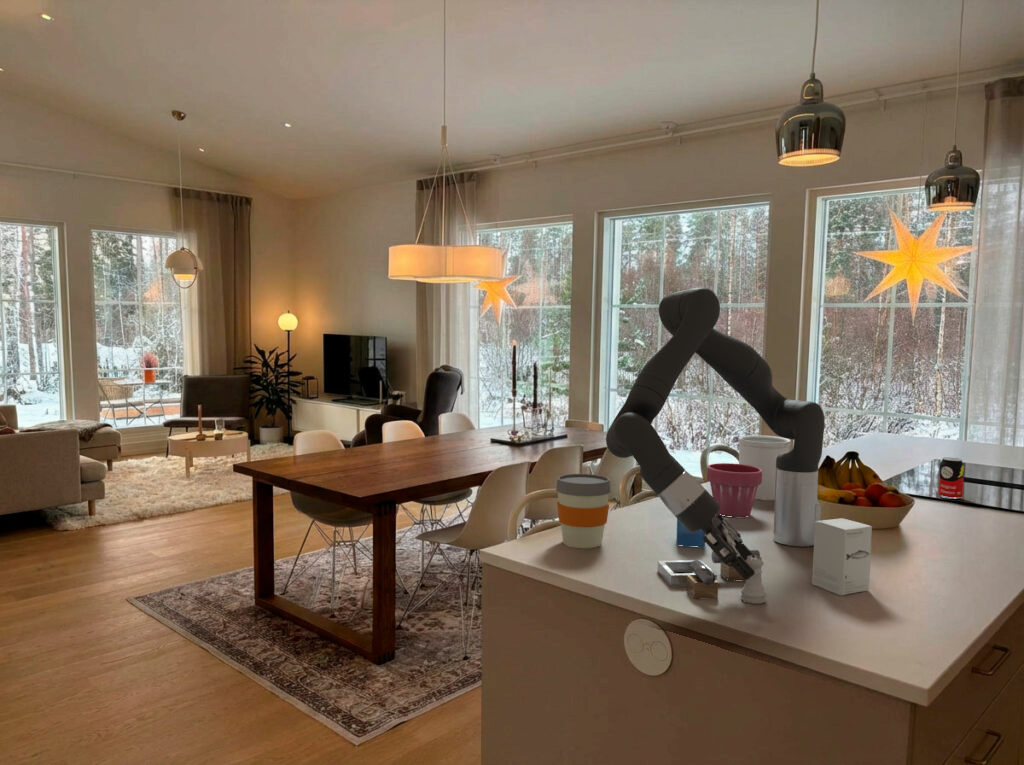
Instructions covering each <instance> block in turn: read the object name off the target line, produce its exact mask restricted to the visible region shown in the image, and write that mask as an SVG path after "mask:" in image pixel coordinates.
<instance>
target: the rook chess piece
mask: <svg viewBox="0 0 1024 765" xmlns="http://www.w3.org/2000/svg"><path fill="white" fill-rule="evenodd" d="M746 562H747V563H748V564H749V565H750V566H751V567H752V568H753V570H754V571H755V573H754V575H753V576H752V577H750V578H749V579H748V580H746V581H745V584H744V585H743V588H742V589H741V591H740V593H741V595H740V598H741V600H742V601H743V602H744V601H745V603H746V602H747V603H746V604H751V605H762V604H764V603H765V602H766V601H767V598H766V596H767V593H766V591H765V590H764V586H763V582H762V581H763V580H762V573H763V570H762V567H763V566H764V564H765V563H764V561H763V558H762V556H761V555H760V556H759V559H758V558H757V556H756V555H755V557H754V558H752V555H749V556H747V560H746Z"/></svg>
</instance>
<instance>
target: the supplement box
mask: <svg viewBox="0 0 1024 765" xmlns="http://www.w3.org/2000/svg"><path fill="white" fill-rule="evenodd" d="M872 530H873V526H872V525H869V524H865V523H862V522H857V521H855V520H850V519H847V518H842V517H841V518H840V517H839V518H833V519H822V520H820V521H815V530H814V545H813V553H812V554H813V556H812V558H813V561H812V580H811V584H812V585H815V586H817V587H819V588H821V589H823V590H826V591H827V592H831V593H834V594H836V595H838V596H841V597H842V596H845V595H849V594H855V593H861V592H868V591H869V590H870V575H871V556H872V555H871V554H872V534H873V533H872Z"/></svg>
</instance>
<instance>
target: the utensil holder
mask: <svg viewBox="0 0 1024 765" xmlns="http://www.w3.org/2000/svg"><path fill="white" fill-rule="evenodd" d="M738 444H739V446H738V447H739V449H738V451H739V452H738V464H744V465H750V466H754V467H758V468H760V469H761V470H762V483H761V484H760V485H758V488H757V492H756V496H755V499H754V500H757V499H761V500H760V501H775V480H776V458H777V456H778V455H780V454H784V453H788V452H790V446H791V439H787V438H783V437H780V436H774V435H764V434H763V435H762V434H761V435H760V434H759V435H758V434H756V435H755V434H754V435H753V434H751V435H749V434H747V435H740V436H739V437H738Z"/></svg>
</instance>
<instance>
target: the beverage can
mask: <svg viewBox="0 0 1024 765" xmlns="http://www.w3.org/2000/svg"><path fill="white" fill-rule="evenodd" d="M941 459H942V460H941V461H940V463H939V472H938V493H937V494H938V495H939V494H940V495H943V496H948V497H962V498H963V496H964V480H965V479H964V478H965V476H964V474H965V465H964V462H963V459H962V458H958V457H957V458H956V457H942V458H941Z"/></svg>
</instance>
